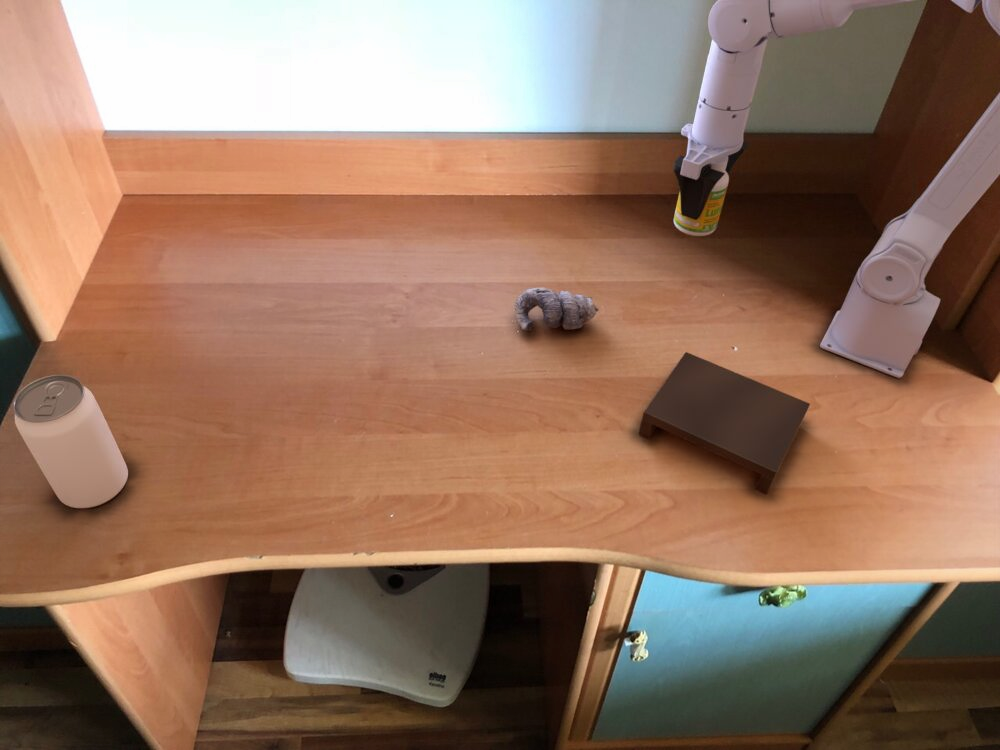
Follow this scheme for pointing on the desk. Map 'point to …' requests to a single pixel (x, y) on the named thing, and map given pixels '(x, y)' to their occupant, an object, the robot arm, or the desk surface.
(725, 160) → the supplement bottle
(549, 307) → the seashell
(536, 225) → the desk surface
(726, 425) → the shelf
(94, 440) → the can
